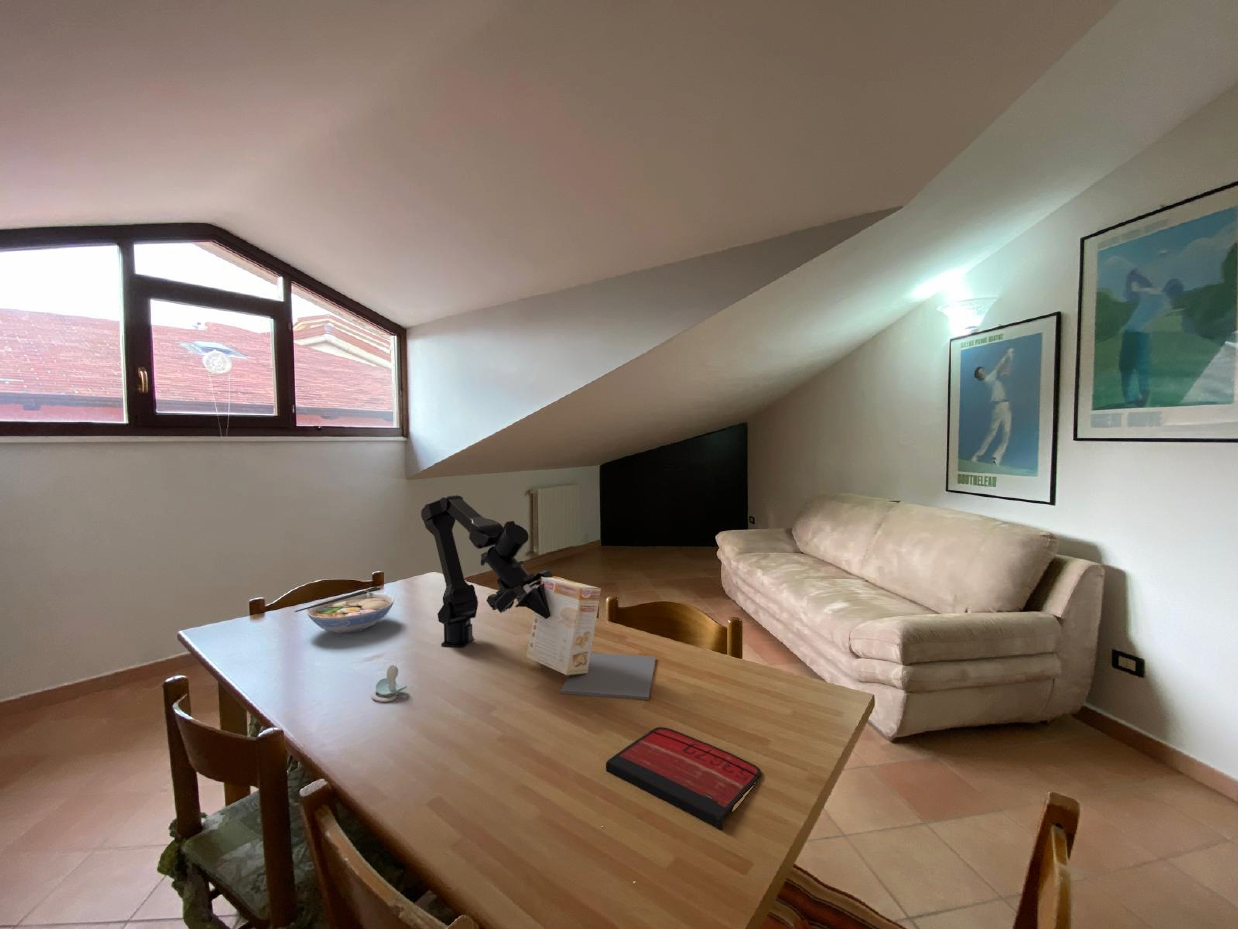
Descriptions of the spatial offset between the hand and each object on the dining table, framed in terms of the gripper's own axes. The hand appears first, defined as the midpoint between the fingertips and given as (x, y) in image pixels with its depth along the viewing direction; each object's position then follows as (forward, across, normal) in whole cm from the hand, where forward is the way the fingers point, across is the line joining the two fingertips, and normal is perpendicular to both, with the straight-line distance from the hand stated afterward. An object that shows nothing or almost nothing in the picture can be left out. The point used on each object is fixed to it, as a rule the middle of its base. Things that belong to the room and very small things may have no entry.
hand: (548, 617), depth 118 cm
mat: (+20, -3, +1) cm, 20 cm away
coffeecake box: (+9, -1, -8) cm, 12 cm away
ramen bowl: (-38, -7, -57) cm, 69 cm away
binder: (+36, +25, +16) cm, 47 cm away
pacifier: (-10, +21, -29) cm, 37 cm away
